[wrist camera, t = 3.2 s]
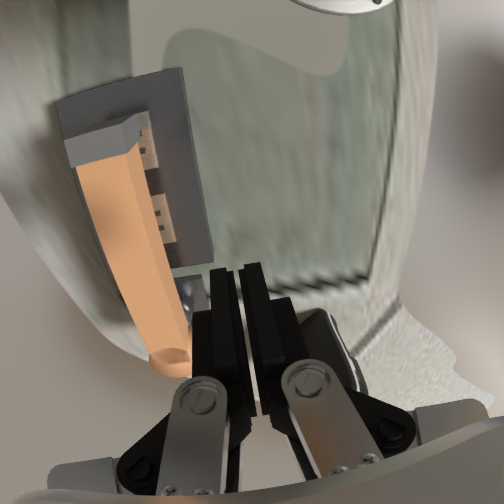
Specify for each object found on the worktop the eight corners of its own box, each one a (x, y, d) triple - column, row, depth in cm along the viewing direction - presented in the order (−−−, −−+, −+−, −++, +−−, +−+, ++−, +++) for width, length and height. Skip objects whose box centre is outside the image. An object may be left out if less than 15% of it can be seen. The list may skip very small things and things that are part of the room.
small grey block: (201, 274, 29) (201, 304, 25) (213, 321, 32) (214, 351, 29) (138, 283, 28) (131, 313, 25) (156, 328, 32) (153, 358, 28)
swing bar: (140, 112, 17) (126, 122, 14) (202, 346, 28) (202, 376, 25) (81, 128, 17) (58, 141, 14) (160, 351, 28) (157, 381, 25)
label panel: (182, 67, 19) (178, 67, 17) (213, 248, 27) (213, 264, 25) (66, 98, 19) (53, 102, 17) (115, 264, 27) (109, 279, 25)
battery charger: (298, 353, 37) (321, 437, 27) (275, 342, 35) (296, 432, 25) (343, 318, 34) (380, 403, 25) (322, 304, 33) (359, 395, 23)
